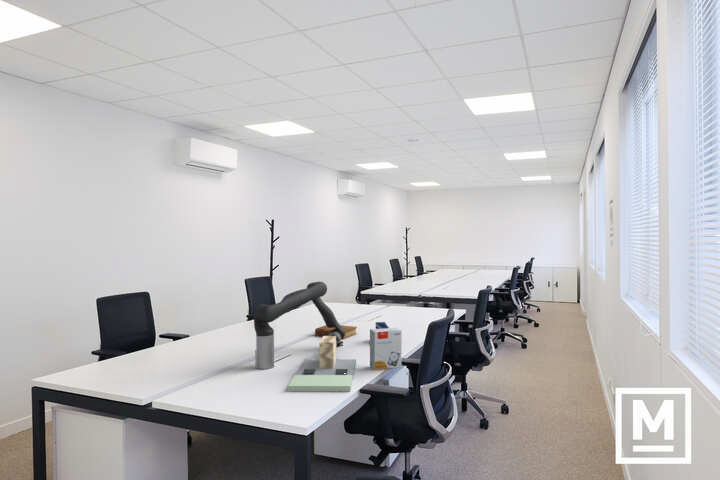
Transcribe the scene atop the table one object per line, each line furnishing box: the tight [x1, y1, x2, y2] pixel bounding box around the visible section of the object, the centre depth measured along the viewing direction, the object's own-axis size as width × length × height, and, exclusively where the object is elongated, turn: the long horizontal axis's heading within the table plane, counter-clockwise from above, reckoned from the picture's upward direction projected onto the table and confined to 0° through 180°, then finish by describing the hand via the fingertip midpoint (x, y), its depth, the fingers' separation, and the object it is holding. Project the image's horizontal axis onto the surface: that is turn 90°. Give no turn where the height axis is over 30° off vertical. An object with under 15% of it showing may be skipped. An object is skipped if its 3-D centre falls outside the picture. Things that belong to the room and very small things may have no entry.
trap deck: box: [287, 358, 357, 393], centre depth 227 cm, size 28×44×2 cm, turn 177°
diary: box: [314, 324, 358, 340], centre depth 321 cm, size 23×19×6 cm
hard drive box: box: [369, 327, 403, 371], centre depth 241 cm, size 16×8×20 cm, turn 105°
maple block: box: [318, 336, 337, 368], centre depth 240 cm, size 7×15×13 cm, turn 177°
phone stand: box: [375, 321, 390, 329], centre depth 298 cm, size 12×12×12 cm
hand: (330, 347), depth 251 cm, fingers closed
